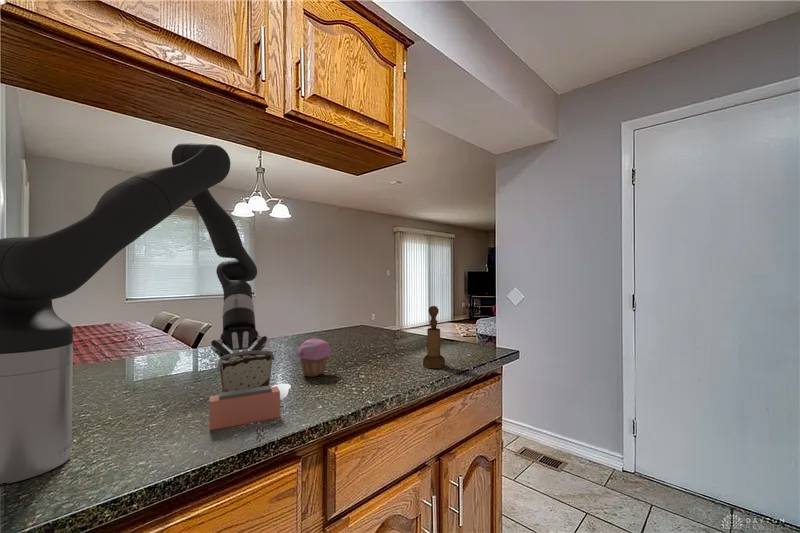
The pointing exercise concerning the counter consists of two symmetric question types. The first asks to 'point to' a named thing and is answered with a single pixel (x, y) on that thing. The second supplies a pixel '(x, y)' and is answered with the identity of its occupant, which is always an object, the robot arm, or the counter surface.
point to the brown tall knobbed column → (433, 343)
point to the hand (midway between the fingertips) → (241, 374)
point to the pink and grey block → (244, 406)
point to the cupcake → (314, 356)
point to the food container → (245, 369)
